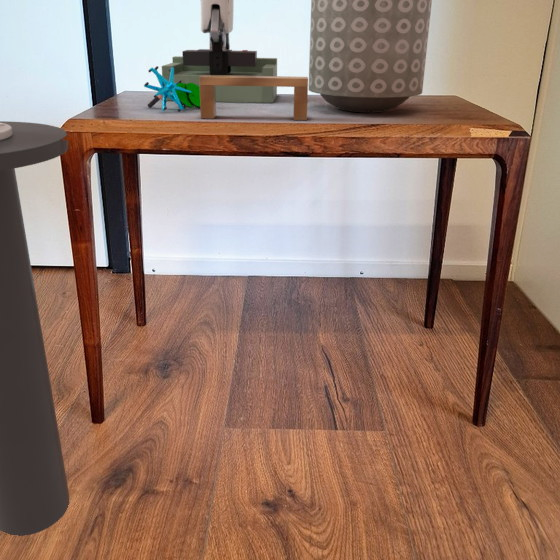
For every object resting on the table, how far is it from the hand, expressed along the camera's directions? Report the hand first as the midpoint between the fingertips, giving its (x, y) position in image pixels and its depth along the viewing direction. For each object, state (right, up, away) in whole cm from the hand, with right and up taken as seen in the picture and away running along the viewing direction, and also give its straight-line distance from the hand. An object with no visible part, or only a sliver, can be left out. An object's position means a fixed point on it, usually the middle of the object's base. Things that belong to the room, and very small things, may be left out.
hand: (220, 72), depth 110 cm
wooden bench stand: (+7, -13, -19) cm, 24 cm away
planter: (+25, -9, -8) cm, 28 cm away
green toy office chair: (-7, -10, -10) cm, 16 cm away
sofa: (0, -3, +4) cm, 5 cm away
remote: (0, +1, -1) cm, 1 cm away
